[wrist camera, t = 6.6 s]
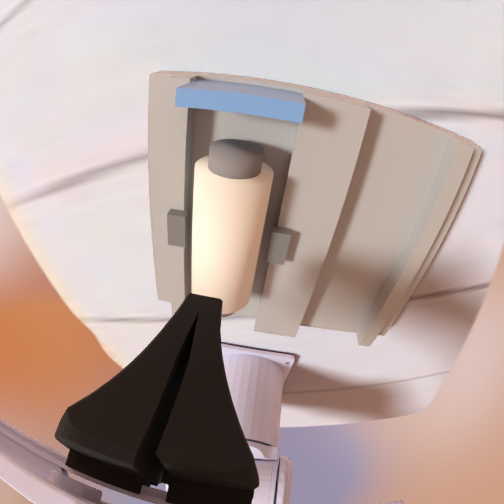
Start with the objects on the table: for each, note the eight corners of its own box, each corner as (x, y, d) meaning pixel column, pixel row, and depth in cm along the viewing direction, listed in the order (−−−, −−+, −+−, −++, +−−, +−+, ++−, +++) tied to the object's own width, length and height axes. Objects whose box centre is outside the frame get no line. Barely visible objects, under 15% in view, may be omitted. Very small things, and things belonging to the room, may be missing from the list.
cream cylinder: (252, 287, 21) (243, 330, 18) (199, 277, 21) (184, 317, 18) (279, 142, 14) (274, 170, 12) (208, 131, 15) (184, 155, 12)
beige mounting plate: (381, 321, 24) (390, 366, 20) (164, 285, 24) (145, 329, 20) (470, 140, 14) (511, 171, 10) (161, 70, 14) (120, 82, 10)
